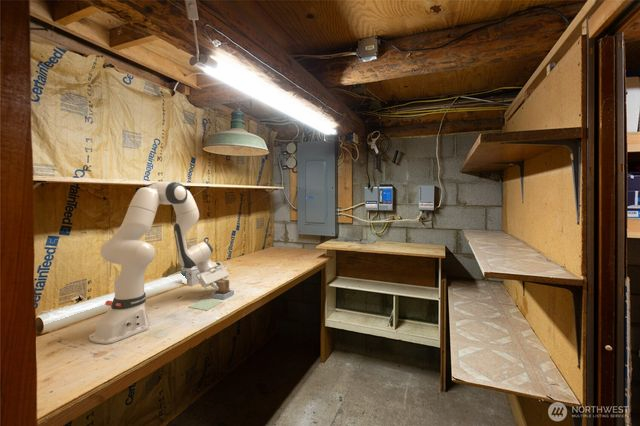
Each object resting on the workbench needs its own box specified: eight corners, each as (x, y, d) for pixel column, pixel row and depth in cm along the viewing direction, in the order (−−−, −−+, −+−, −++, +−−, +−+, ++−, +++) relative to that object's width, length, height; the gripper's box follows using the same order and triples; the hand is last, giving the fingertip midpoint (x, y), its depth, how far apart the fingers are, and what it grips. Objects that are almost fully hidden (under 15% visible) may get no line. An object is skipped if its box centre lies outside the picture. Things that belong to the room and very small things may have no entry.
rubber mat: (206, 310, 152) (206, 309, 152) (188, 307, 156) (188, 306, 156) (222, 302, 163) (222, 301, 163) (204, 299, 167) (204, 298, 167)
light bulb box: (180, 283, 196) (180, 267, 195) (189, 281, 202) (189, 265, 201) (192, 286, 191) (191, 269, 190) (200, 283, 197) (200, 267, 196)
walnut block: (223, 298, 169) (223, 282, 169) (216, 297, 171) (216, 281, 171) (229, 295, 174) (229, 280, 173) (222, 294, 176) (221, 279, 175)
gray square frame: (224, 299, 167) (224, 295, 167) (211, 297, 170) (211, 293, 170) (234, 294, 175) (233, 290, 175) (221, 292, 178) (221, 288, 178)
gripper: (197, 270, 165) (212, 289, 162) (222, 261, 184) (236, 279, 181) (191, 277, 166) (206, 296, 164) (216, 268, 186) (230, 285, 183)
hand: (222, 287), depth 172 cm, fingers closed on walnut block, 5 cm apart
